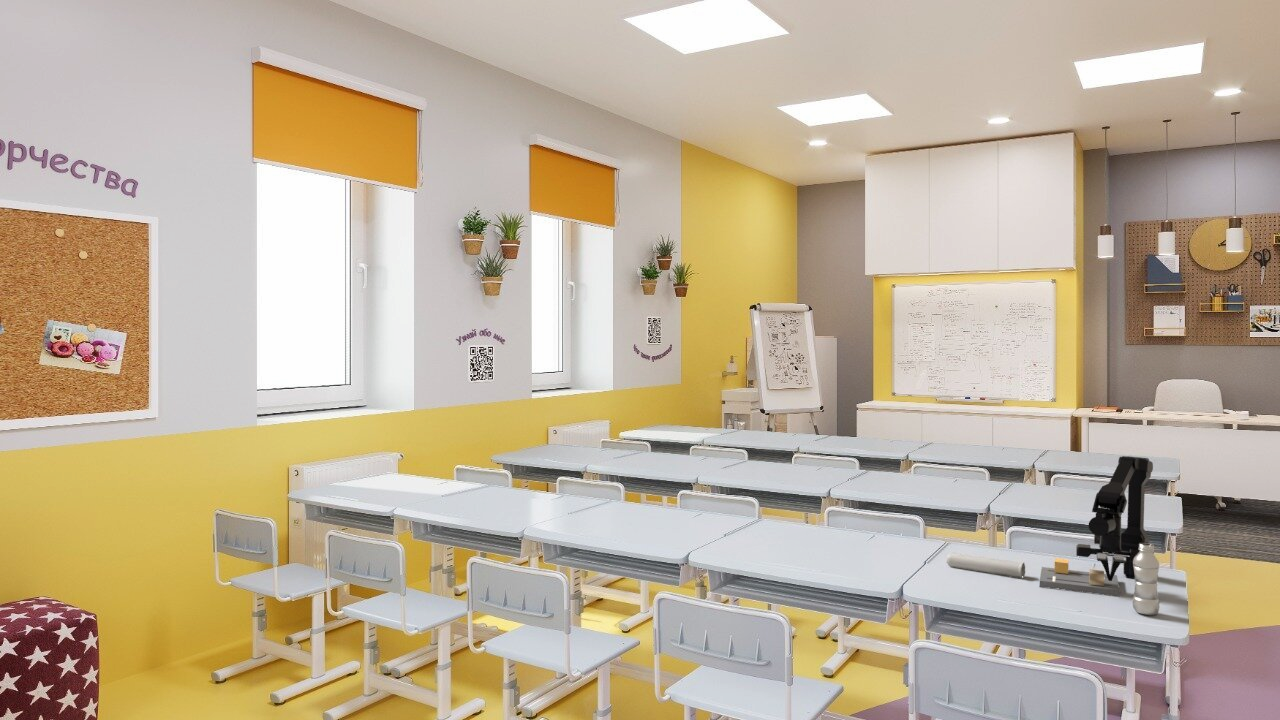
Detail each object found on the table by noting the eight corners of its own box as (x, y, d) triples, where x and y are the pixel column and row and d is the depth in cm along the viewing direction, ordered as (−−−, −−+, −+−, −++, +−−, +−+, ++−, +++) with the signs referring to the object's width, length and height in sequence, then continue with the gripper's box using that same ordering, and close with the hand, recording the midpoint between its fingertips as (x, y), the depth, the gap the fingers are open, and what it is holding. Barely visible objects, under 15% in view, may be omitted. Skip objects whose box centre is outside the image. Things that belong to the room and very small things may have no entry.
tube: (943, 556, 288) (1020, 568, 273) (948, 548, 292) (1024, 559, 277) (945, 570, 290) (1021, 582, 274) (950, 562, 294) (1026, 573, 278)
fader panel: (1116, 581, 271) (1116, 574, 271) (1119, 596, 255) (1119, 589, 255) (1041, 572, 281) (1041, 566, 281) (1039, 586, 265) (1039, 580, 265)
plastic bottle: (1150, 619, 234) (1151, 548, 234) (1127, 612, 240) (1127, 543, 240) (1164, 615, 237) (1165, 545, 237) (1140, 608, 243) (1141, 540, 243)
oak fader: (1103, 581, 263) (1103, 570, 263) (1104, 586, 258) (1104, 574, 258) (1089, 580, 264) (1089, 569, 264) (1089, 584, 260) (1089, 573, 260)
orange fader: (1068, 570, 276) (1068, 559, 276) (1068, 573, 272) (1068, 563, 272) (1054, 568, 278) (1055, 558, 278) (1054, 572, 274) (1054, 561, 273)
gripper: (1143, 528, 262) (1142, 577, 262) (1076, 522, 271) (1076, 570, 271) (1146, 535, 252) (1145, 587, 253) (1076, 529, 261) (1076, 579, 261)
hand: (1110, 580), depth 260 cm, fingers closed
